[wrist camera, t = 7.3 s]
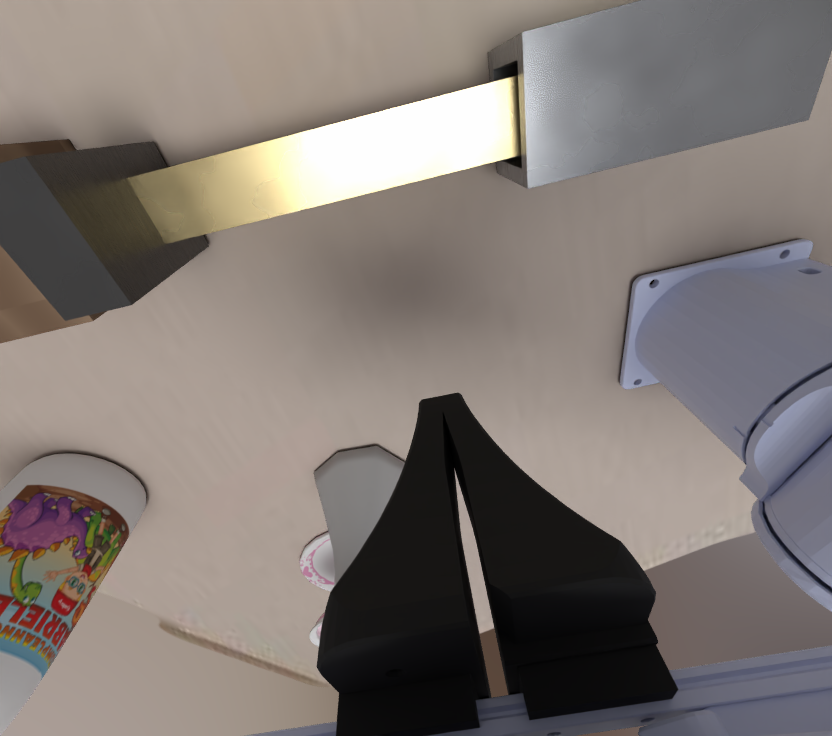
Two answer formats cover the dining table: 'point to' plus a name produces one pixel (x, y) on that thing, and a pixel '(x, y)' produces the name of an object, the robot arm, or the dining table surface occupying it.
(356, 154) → the grey-banded wooden bar
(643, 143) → the sleeve
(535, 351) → the dining table surface
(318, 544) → the teacup
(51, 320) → the socket
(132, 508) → the milk bottle
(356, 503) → the flask
